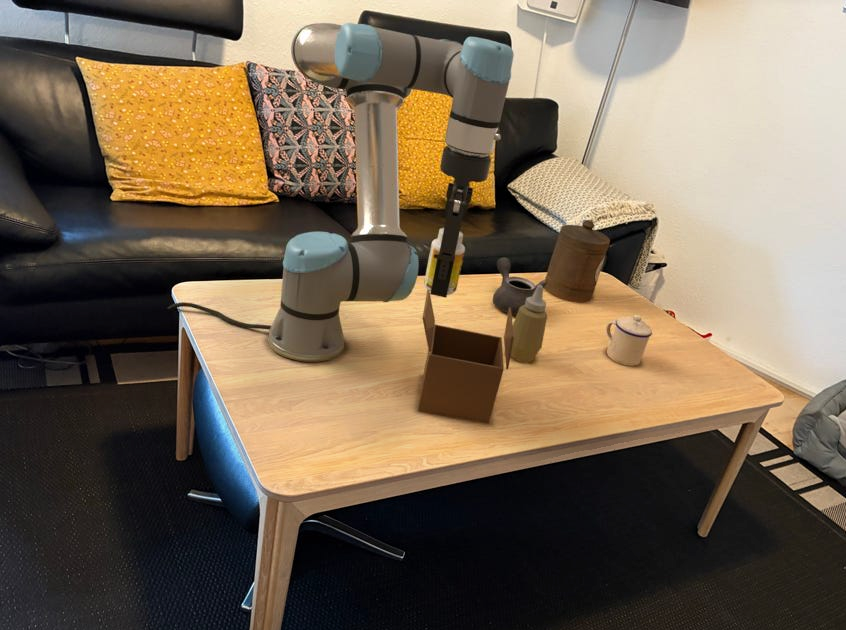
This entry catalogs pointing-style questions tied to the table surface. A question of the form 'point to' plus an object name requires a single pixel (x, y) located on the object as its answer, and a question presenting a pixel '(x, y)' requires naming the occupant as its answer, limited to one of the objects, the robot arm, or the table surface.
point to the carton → (464, 372)
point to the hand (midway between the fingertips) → (440, 287)
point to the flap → (428, 320)
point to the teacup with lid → (628, 340)
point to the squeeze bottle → (529, 327)
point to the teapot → (512, 289)
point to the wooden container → (576, 262)
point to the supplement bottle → (432, 262)
